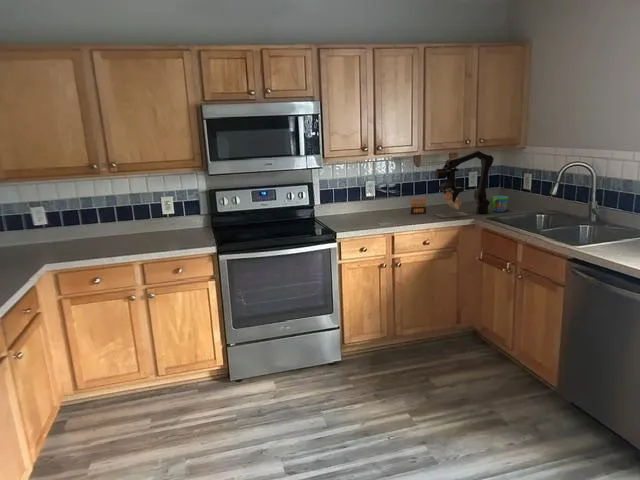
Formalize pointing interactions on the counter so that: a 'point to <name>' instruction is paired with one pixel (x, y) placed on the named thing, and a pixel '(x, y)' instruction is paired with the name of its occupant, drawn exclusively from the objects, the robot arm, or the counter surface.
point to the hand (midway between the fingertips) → (450, 201)
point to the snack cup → (499, 203)
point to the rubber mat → (451, 215)
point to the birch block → (449, 199)
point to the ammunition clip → (418, 206)
